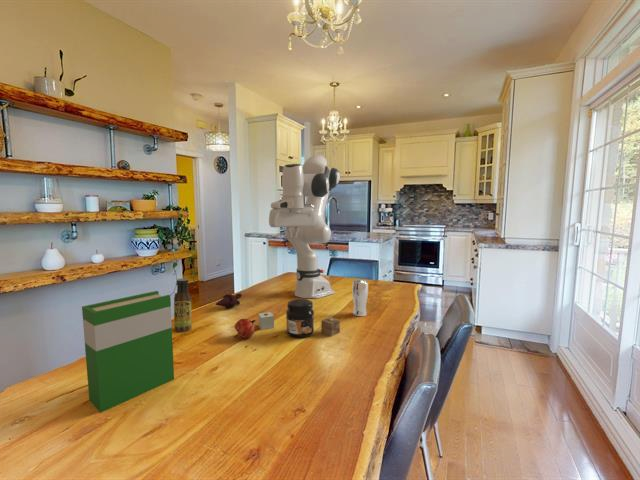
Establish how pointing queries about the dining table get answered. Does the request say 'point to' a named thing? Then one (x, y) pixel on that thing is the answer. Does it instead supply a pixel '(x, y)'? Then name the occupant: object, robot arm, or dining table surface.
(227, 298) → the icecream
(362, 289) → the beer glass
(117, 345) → the hardback book
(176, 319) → the sauce bottle
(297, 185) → the robot arm
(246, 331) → the pomegranate
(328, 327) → the walnut cube
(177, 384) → the dining table surface
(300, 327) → the supplement container
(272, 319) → the sage cube
